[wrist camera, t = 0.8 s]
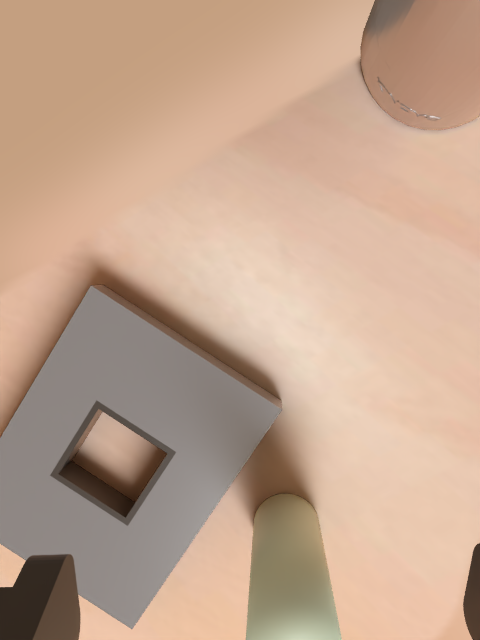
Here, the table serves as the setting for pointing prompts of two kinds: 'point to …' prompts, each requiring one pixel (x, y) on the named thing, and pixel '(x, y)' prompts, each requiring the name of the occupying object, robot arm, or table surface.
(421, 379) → the table surface
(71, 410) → the socket plate
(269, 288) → the table surface
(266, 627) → the peg
